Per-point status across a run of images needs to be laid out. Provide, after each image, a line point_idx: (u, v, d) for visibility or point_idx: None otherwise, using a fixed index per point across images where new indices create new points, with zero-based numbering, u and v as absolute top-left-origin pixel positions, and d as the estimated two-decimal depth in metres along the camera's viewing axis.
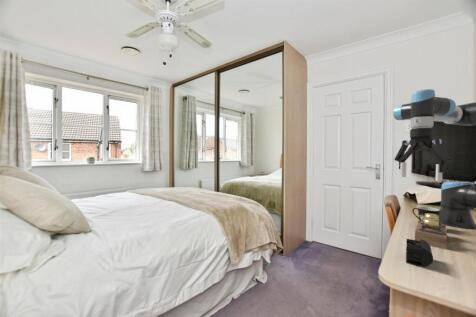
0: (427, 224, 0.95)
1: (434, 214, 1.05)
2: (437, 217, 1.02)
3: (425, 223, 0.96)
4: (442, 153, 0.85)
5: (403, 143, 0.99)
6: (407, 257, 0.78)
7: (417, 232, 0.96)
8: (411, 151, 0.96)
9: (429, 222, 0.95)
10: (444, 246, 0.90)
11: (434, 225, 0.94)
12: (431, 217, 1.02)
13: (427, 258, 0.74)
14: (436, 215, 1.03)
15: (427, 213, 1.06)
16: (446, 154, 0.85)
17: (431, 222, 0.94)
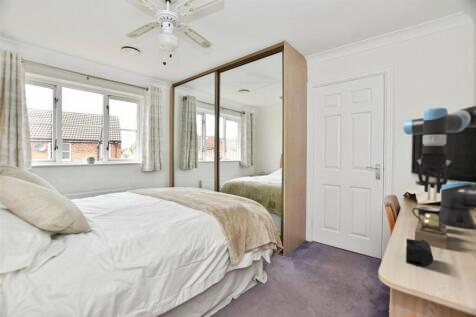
0: (427, 224, 0.95)
1: (434, 214, 1.05)
2: (437, 217, 1.02)
3: (425, 223, 0.96)
4: (447, 175, 0.92)
5: (416, 163, 0.98)
6: (407, 257, 0.78)
7: (417, 232, 0.96)
8: None
9: (429, 222, 0.95)
10: (444, 246, 0.90)
11: (434, 225, 0.94)
12: (431, 217, 1.02)
13: (427, 258, 0.74)
14: (436, 215, 1.03)
15: (427, 213, 1.06)
16: None
17: (431, 222, 0.94)
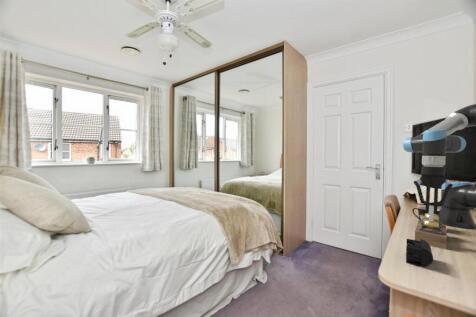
0: (427, 225, 0.95)
1: (434, 214, 1.05)
2: (437, 217, 1.02)
3: (425, 224, 0.96)
4: (444, 197, 0.92)
5: (416, 184, 0.98)
6: (407, 257, 0.78)
7: (417, 232, 0.96)
8: None
9: (429, 223, 0.95)
10: (444, 246, 0.90)
11: (434, 226, 0.94)
12: None
13: (427, 258, 0.74)
14: (436, 215, 1.03)
15: (427, 213, 1.06)
16: (445, 198, 0.93)
17: (431, 223, 0.94)
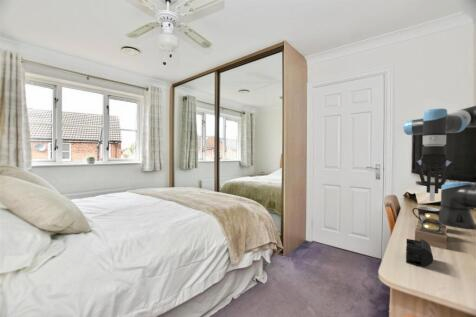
0: (427, 229, 0.95)
1: (434, 214, 1.05)
2: (437, 217, 1.02)
3: (425, 228, 0.96)
4: (445, 176, 0.92)
5: (417, 164, 0.98)
6: (407, 257, 0.78)
7: (417, 232, 0.96)
8: (430, 169, 0.96)
9: (429, 227, 0.95)
10: (444, 246, 0.90)
11: None
12: (431, 217, 1.02)
13: (427, 258, 0.74)
14: (436, 215, 1.03)
15: (427, 213, 1.06)
16: (446, 177, 0.93)
17: (431, 228, 0.94)
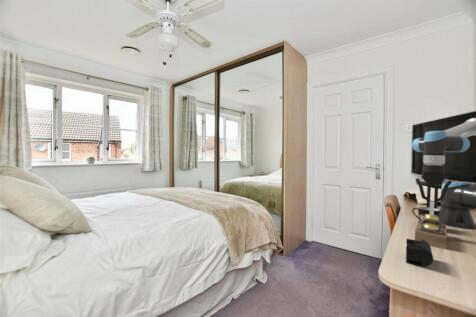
0: (427, 229, 0.95)
1: (434, 215, 1.05)
2: (437, 218, 1.02)
3: (425, 228, 0.96)
4: (444, 193, 1.00)
5: (418, 181, 1.06)
6: (407, 257, 0.78)
7: (417, 232, 0.96)
8: (430, 186, 1.04)
9: (429, 227, 0.95)
10: (444, 246, 0.90)
11: None
12: (431, 217, 1.02)
13: (427, 258, 0.74)
14: (436, 216, 1.03)
15: (427, 214, 1.06)
16: (444, 194, 1.01)
17: (431, 228, 0.94)
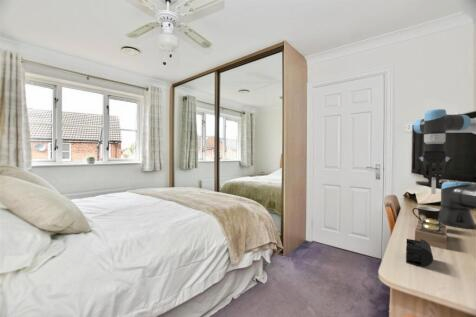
0: (427, 229, 0.95)
1: (434, 219, 1.05)
2: (437, 222, 1.02)
3: (425, 228, 0.96)
4: (445, 171, 1.01)
5: (419, 160, 1.07)
6: (407, 257, 0.78)
7: (417, 232, 0.96)
8: None
9: (429, 227, 0.95)
10: (444, 246, 0.90)
11: None
12: (431, 222, 1.02)
13: (427, 258, 0.74)
14: (436, 220, 1.03)
15: (427, 218, 1.06)
16: (446, 172, 1.02)
17: (431, 228, 0.94)
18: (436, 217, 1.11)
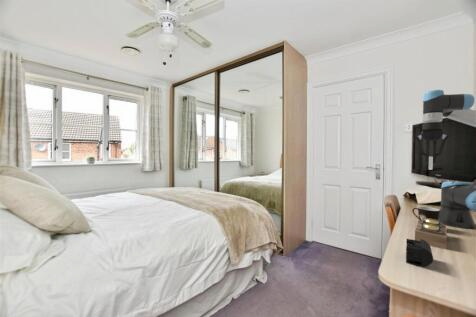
0: (427, 229, 0.95)
1: (434, 219, 1.05)
2: (437, 222, 1.02)
3: (425, 228, 0.96)
4: (442, 147, 1.08)
5: (418, 139, 1.14)
6: (407, 257, 0.78)
7: (417, 232, 0.96)
8: (429, 142, 1.12)
9: (429, 227, 0.95)
10: (444, 246, 0.90)
11: None
12: (431, 222, 1.02)
13: (427, 258, 0.74)
14: (436, 220, 1.03)
15: (427, 218, 1.06)
16: (442, 149, 1.09)
17: (431, 228, 0.94)
18: (436, 217, 1.11)
